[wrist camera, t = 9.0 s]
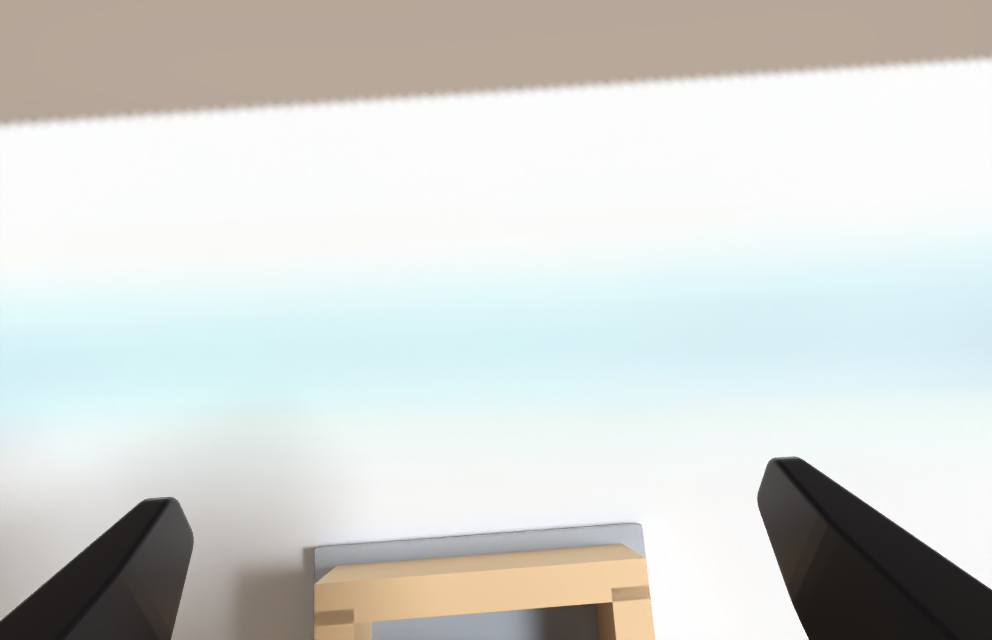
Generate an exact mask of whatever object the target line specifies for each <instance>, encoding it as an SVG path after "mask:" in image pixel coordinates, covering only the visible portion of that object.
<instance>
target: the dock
mask: <svg viewBox="0 0 992 640" xmlns="http://www.w3.org/2000/svg"><path fill="white" fill-rule="evenodd" d="M314 640H655V634H654V626H653V617H652V609H651V600H650V591H649V583H648V574H647V565H646V557H645V548H644V540H643V531H642V525H641V524H639V523H629V524H616V525H602V526H589V527H576V528H562V529H549V530H536V531H523V532H509V533H496V534H483V535H469V536H456V537H443V538H430V539H416V540H403V541H390V542H377V543H363V544H350V545H337V546H323V547H318V548H316V549H315V584H314Z"/></svg>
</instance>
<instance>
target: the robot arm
mask: <svg viewBox="0 0 992 640" xmlns="http://www.w3.org/2000/svg"><path fill="white" fill-rule="evenodd" d="M757 500H758V507H759V510H760V513H761V516H762V519H763V522H764V525H765V528H766V530H767V533H768V536H769V539H770V542H771V545H772V548H773V550H774V553H775V556H776V559H777V562H778V565H779V567H780V570H781V573H782V576H783V579H784V582H785V585H786V587H787V590H788V593H789V595H790V598H791V601H792V603H793V606H794V608H795V610H796V612H797V615H798V617H799V619H800V621H801V623H802V626H803V628H804V630H805V632H806V634H807V636H808V638H809V640H992V590H991V589H990V588H988V587H987V586H986V585H984V584H983V583H981V582H980V581H978V580H977V579H975V578H974V577H973V576H971V575H970V574H968V573H967V572H965V571H964V570H962V569H961V568H959V567H958V566H957V565H955V564H954V563H952V562H951V561H949V560H948V559H946V558H945V557H943V556H942V555H941V554H939V553H938V552H936V551H935V550H933V549H932V548H930V547H929V546H928V545H926V544H925V543H923V542H922V541H920V540H919V539H917V538H916V537H914V536H913V535H912V534H910V533H909V532H907V531H906V530H904V529H903V528H901V527H900V526H899V525H897V524H896V523H894V522H893V521H891V520H890V519H888V518H887V517H885V516H884V515H883V514H881V513H880V512H878V511H877V510H875V509H874V508H872V507H871V506H869V505H868V504H867V503H865V502H864V501H862V500H861V499H859V498H858V497H856V496H855V495H854V494H852V493H851V492H849V491H848V490H846V489H845V488H843V487H842V486H840V485H839V484H838V483H836V482H835V481H833V480H832V479H830V478H829V477H827V476H826V475H825V474H823V473H822V472H820V471H819V470H817V469H816V468H814V467H813V466H811V465H810V464H809V463H807V462H806V461H804V460H802V459H801V458H798V457H779V458H772V459H771V460H770V461H769V462H768V464H767V467H766V470H765V473H764V476H763V479H762V482H761V485H760V488H759V491H758V497H757ZM193 542H194V538H193V532H192V529H191V527H190V525H189V523H188V521H187V519H186V516H185V514H184V512H183V510H182V508H181V506H180V503H179V502H178V500H176V499H175V498H173V497H162V498H149V499H145V500H143V501H142V502H140V503H139V504H138V505H136V506H135V507H134V508H133V509H132V510H131V511H129V512H128V513H127V514H126V515H125V516H123V517H122V518H121V519H120V520H119V521H118V522H116V523H115V524H114V525H113V526H112V527H110V528H109V529H108V530H107V531H106V532H105V533H103V534H102V535H101V536H100V537H99V538H98V539H96V540H95V541H94V542H93V543H92V544H90V545H89V546H88V547H87V548H86V549H85V550H83V551H82V552H81V553H80V554H79V555H78V556H76V557H75V558H74V559H73V560H72V561H70V562H69V563H68V564H67V565H66V566H65V567H63V568H62V569H61V570H60V571H59V572H57V573H56V574H55V575H54V576H53V577H52V578H50V579H49V580H48V581H47V582H46V583H45V584H43V585H42V586H41V587H40V588H39V589H37V590H36V591H35V592H34V593H33V594H32V595H30V596H29V597H28V598H27V599H26V600H25V601H23V602H22V603H21V604H20V605H19V606H17V607H16V608H15V609H14V610H13V611H12V612H10V613H9V614H8V615H7V616H6V617H5V618H3V619H2V620H1V621H0V640H171V636H172V632H173V628H174V624H175V620H176V616H177V612H178V608H179V603H180V599H181V595H182V591H183V587H184V583H185V579H186V574H187V570H188V566H189V562H190V558H191V554H192V550H193Z"/></svg>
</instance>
